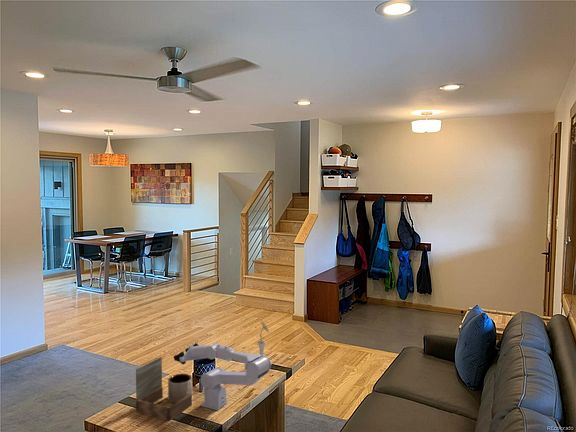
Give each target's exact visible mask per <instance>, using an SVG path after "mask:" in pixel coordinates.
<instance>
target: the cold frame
mask: <svg viewBox="0 0 576 432" xmlns="http://www.w3.org/2000/svg"><path fill="white" fill-rule="evenodd" d="M162 359H163V357H159V358H156V359H154V360H152V361H150V362H148V363H146V364H143V365H142V366H140V367H138V368H136V369H135V385H136V386H135V393H136V395H135V399H136V400H135V402H136V403H135V404H136V405H135V406H136V407H135V408H136V409H135V410H136V412H137V413H140V414H143V415H146V416H147V415H148V416H149V417H150V416H151V417H153V418H156V419H161V420H163V421H167V422H170V421H172V420H173V419H174V418H176V417H177V416H178V415H180V414H181V413H182V412H184V411H186V410H187V409H189V408H190V407H192V406H193V393H192V394H189V395H187V396H186V397H184V398H183V399H181V400H180V401H178V402H177V403H173V404H171V405H170V406H169V407H166V406H163V405H160V404H157V403H156V402H157V401H159V400H161V399H162V398H163V396H164V395H163V390H164V389H163V380H162V379H163V378H162V377H163V375H162V374H163V367H162V365H163V363H162V362H163V361H162Z"/></svg>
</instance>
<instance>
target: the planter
mask: <svg viewBox="0 0 576 432" xmlns="http://www.w3.org/2000/svg"><path fill="white" fill-rule="evenodd" d="M192 379H193V377H192V375H190V374H188V373H177V374H174V375H171V376H170V377H169V378H168V380H167V381H168V383H167V385H168V386H167V388H168V389H167V391H168V392H167V393H168V394H167V398H168V399H167V400H168V401H169V402H171V403H173V404H175V403H177V402H178V401H180V400H181V399H183V398H184V397H186V396H187V395H189V394H192V395H193V385H192V384H193V380H192Z"/></svg>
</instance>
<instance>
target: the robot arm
mask: <svg viewBox="0 0 576 432" xmlns="http://www.w3.org/2000/svg"><path fill="white" fill-rule="evenodd" d="M184 352H185V353H184ZM260 356H261V355H260V353H256V354H255V353H247V352H246V353H245V352H241V351H235V349H234V348H232V347H230V345H222V344H221V343H219V342H215V343H212V344H205V345H204V344H200V345H199V344H198V343H197V342H195V343H194V344H189V346H188V347H187V348H184V350H183V351H181V352H179V353H178V354H175V355H174V356H173V360H174V361H175V362H178V363H180V364H181V365H185V364H187V361H189V362H190V361H195V360H201V359H202V360H203V359H209V360H214V359H217V360H222V361H226V362H231V361H232V360H233V361H235V362H239V363H242V364H244V369H245V371H229V370H227V371H226V369H222V368H221V367H218V366H216V367H214V368H213V369H211V370H209V371H207V372H205V373H202V374H201V376H200V383H201V385H202V386H203V388H204V393H203V394H204V398H203V399H204V401H203V402H202V403H201V404H199V405H200V407H204V408H208V409H211V410H215V411H219V410H220V409H221V408H222V407H224V406H225V405H226V404H227V403H228V402H227V389H226V387H224V386H223V385H236V386H237V385H239V386H241V385H242V386H253V385H255V384H256V383H259V381H260V380H261V379H262V378H263V377H265V375H267V374H268V373H269V372H270V369H271V367H272V364H271V362H272V361H271V359H270V358H269V357H268V356H267V355H265V356H261V357H260ZM270 361H271V362H270Z"/></svg>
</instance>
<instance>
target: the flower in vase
mask: <svg viewBox="0 0 576 432" xmlns="http://www.w3.org/2000/svg"><path fill="white" fill-rule="evenodd" d="M260 324H261V326H262V328H261V332H260V333H259V336H260V340H258V341H257V343H256V344H257V345H258V347H259V354H260V355H261V356H266V355H265V352H264V351H265V345H266V344H267V341H265V340H263V339H265V337H264V336H263V337H262V332H263V330H265V331H266V333H268V334H269V333H270V331H269V328H268V326H267V325H265V322H264V321H263V320H261V321H260ZM261 356H260V357H261ZM270 362H271V365H272V364H273V363H272V361H271V360H270Z"/></svg>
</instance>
